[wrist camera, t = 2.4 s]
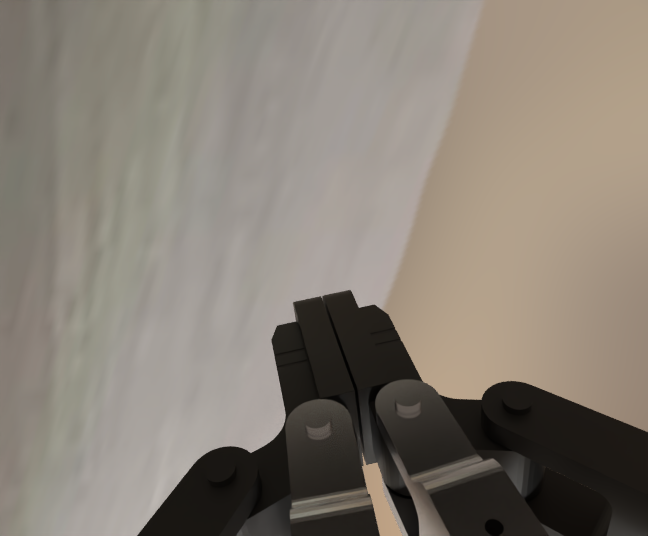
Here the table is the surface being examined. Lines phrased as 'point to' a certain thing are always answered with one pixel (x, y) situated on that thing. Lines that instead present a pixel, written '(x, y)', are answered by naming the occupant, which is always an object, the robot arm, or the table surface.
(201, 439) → the table surface
